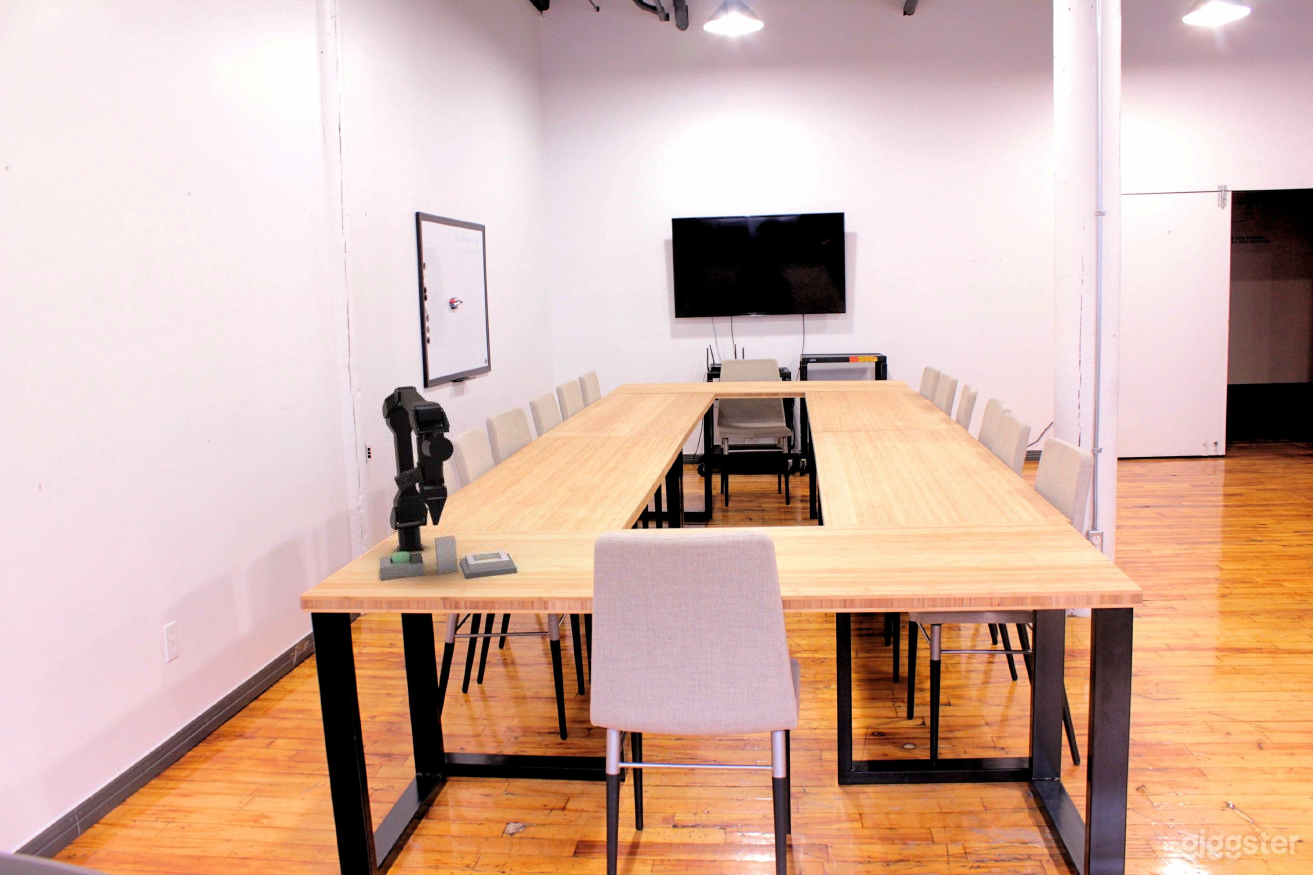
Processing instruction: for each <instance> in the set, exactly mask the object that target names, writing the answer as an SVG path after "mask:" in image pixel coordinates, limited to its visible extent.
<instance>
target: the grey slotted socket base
mask: <svg viewBox="0 0 1313 875" xmlns="http://www.w3.org/2000/svg"><path fill="white" fill-rule="evenodd" d="M459 565H460V567H461V569H462V571H463V572H462V573H463V575H464V579H474V578H483V577H491V576H498V575H508V574H510V575H511V574H516V573H518V567H517V566H516V564H515V563H514V561H513V559H512V557H511V556H510V553H507V552H506V551H505V550H504V549H503V550H495V551H484V552H476V553H466V554H465V557H464V558H459Z"/></svg>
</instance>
